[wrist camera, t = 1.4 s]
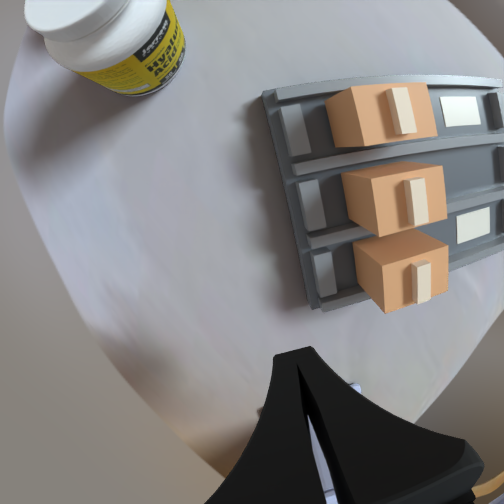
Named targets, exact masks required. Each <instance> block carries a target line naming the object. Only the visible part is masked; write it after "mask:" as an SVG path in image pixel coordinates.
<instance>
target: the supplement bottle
mask: <svg viewBox="0 0 504 504" xmlns="http://www.w3.org/2000/svg"><path fill="white" fill-rule="evenodd" d="M24 16H25V20H26V22H27V24H28V26H29V27H30V28H31V29H32V30H34V31H36V32H37V33H39V34H41V35H42V36H44V42H45V46H46V49H47V51H48V53H49V55H50V56H51V57H52V58H53V59H54V60H55V61H56V62H57V63H58V64H60V65H61V66H63V67H65V68H67V69H69V70H71V71H73V72H75V73H78V74H80V75H82V76H84V77H86V78H88V79H90V80H92V81H94V82H96V83H98V84H100V85H102V86H104V87H106V88H107V89H110V90H112V91H114V92H116V93H118V94H121V95H125V96H142V95H146V94H150V93H153V92H155V91H157V90H159V89H161V88H162V87H164V86H165V85H167V84H168V83H169V82H170V81H171V80H172V79H173V78H174V77H175V76H176V74H177V73H178V72H179V70H180V68H181V66H182V64H183V61H184V58H185V54H186V43H185V38H184V35H183V32H182V30H181V27H180V25H179V22H178V20H177V17H176V15H175V12H174V10H173V8H172V5H171V3H170V0H26V2H25V6H24Z"/></svg>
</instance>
